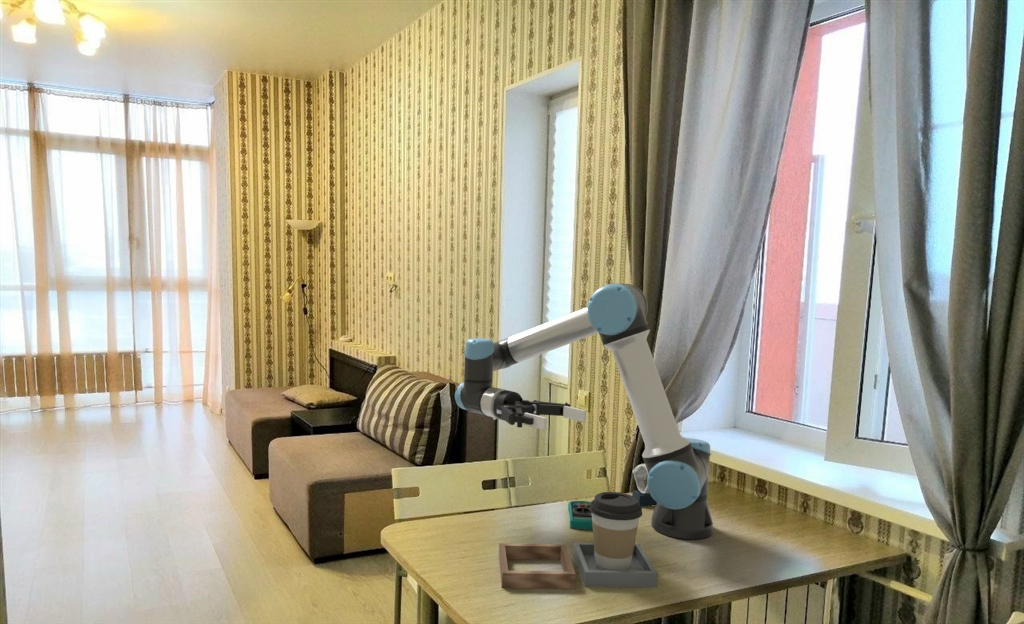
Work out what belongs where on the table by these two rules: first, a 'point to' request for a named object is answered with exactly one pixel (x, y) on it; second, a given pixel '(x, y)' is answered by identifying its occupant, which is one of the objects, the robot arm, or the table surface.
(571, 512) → the digital multimeter
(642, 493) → the watch
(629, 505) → the coffee cup
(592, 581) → the tray
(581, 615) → the table surface
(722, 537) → the table surface
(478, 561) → the table surface
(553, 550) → the collar
